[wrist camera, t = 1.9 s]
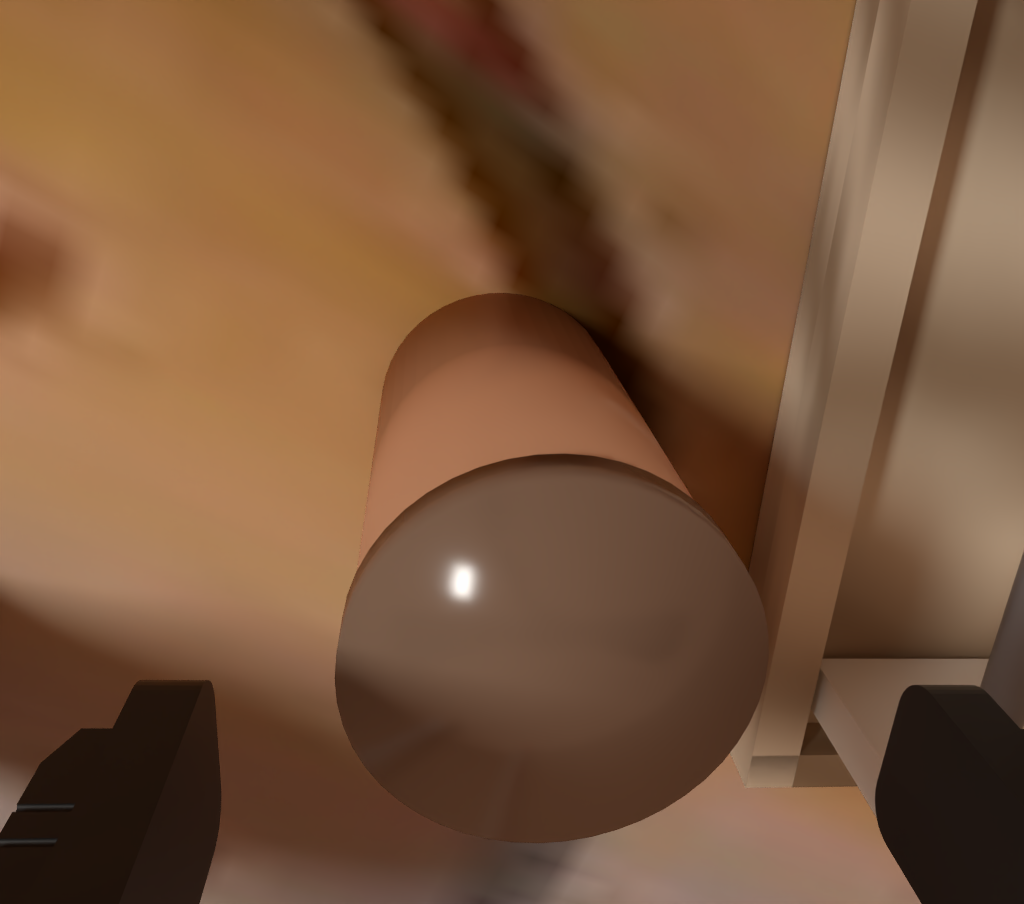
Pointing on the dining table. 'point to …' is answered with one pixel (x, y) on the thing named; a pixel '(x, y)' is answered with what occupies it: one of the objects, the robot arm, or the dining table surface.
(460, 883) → the dining table surface
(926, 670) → the pusher
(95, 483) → the dining table surface
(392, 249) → the dining table surface
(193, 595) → the dining table surface
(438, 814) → the jar
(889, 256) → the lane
